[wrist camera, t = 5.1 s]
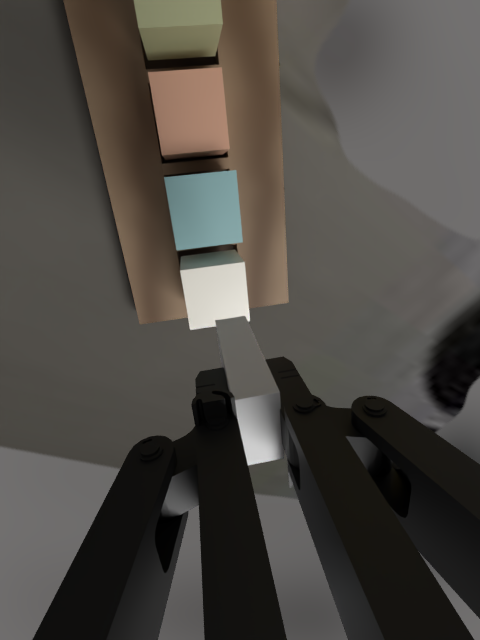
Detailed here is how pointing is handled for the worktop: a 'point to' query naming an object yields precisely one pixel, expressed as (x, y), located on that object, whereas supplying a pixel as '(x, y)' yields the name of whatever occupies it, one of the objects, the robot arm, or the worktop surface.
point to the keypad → (150, 166)
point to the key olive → (179, 27)
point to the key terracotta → (190, 112)
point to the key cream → (214, 287)
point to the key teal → (204, 209)
